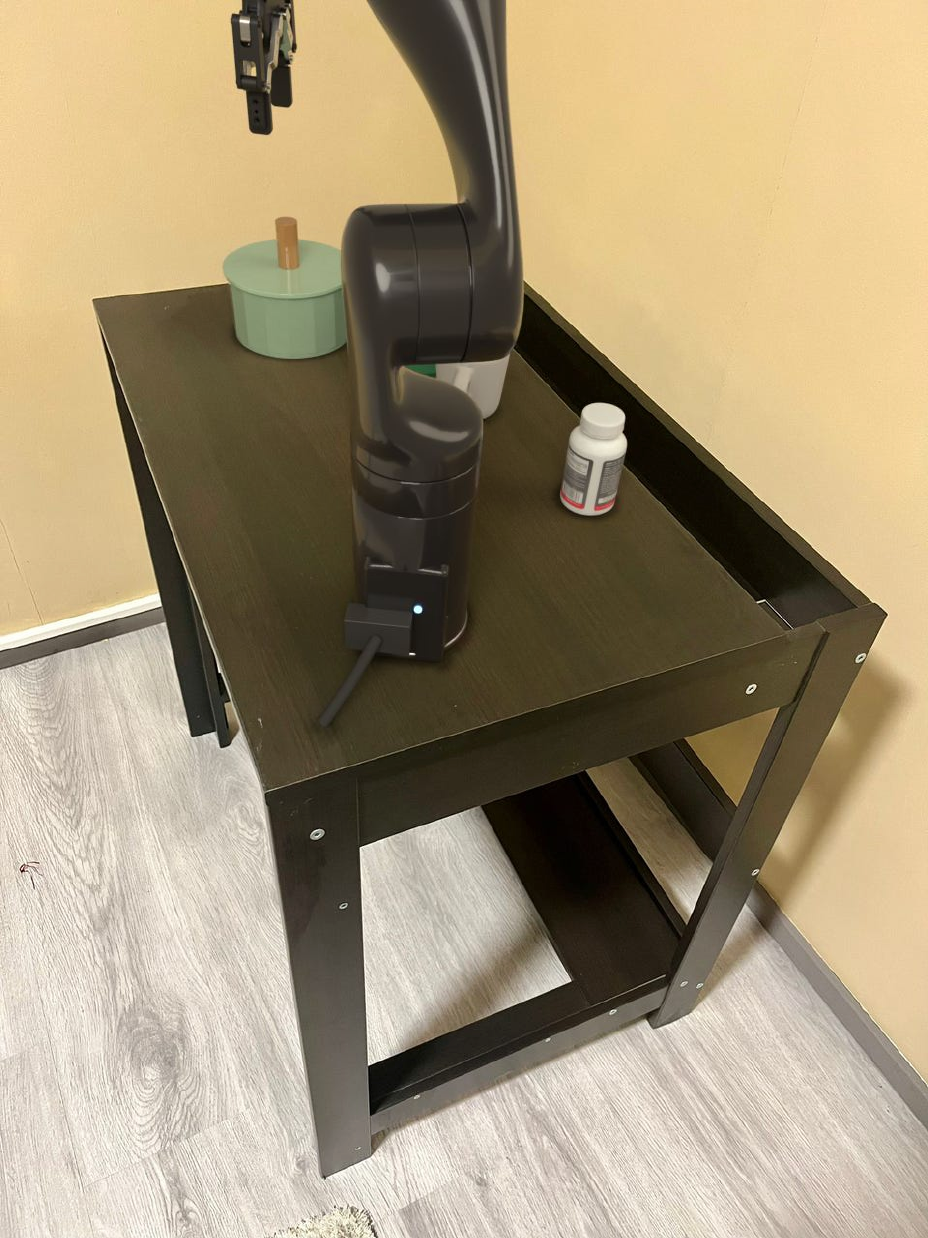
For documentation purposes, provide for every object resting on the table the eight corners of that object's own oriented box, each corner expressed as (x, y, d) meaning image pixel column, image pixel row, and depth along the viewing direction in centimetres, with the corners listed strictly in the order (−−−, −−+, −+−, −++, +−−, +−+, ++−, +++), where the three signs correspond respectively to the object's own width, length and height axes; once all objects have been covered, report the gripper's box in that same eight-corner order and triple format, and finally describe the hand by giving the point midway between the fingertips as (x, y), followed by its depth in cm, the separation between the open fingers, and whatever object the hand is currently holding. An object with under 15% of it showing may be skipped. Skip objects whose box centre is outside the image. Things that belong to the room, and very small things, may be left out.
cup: (492, 449, 94) (499, 380, 88) (417, 436, 95) (420, 367, 89) (509, 396, 101) (517, 330, 96) (440, 385, 102) (443, 318, 97)
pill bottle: (609, 485, 91) (628, 399, 84) (617, 518, 87) (638, 431, 80) (556, 483, 90) (570, 396, 83) (562, 516, 86) (578, 429, 80)
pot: (340, 364, 104) (338, 302, 99) (221, 352, 104) (213, 289, 99) (359, 310, 114) (358, 250, 108) (251, 299, 114) (245, 239, 109)
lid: (342, 310, 99) (340, 254, 94) (207, 296, 99) (200, 240, 95) (364, 254, 109) (363, 202, 105) (242, 242, 109) (236, 189, 105)
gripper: (280, -59, 76) (292, 147, 87) (315, -89, 85) (322, 101, 97) (191, -69, 76) (215, 139, 87) (237, -97, 86) (253, 93, 97)
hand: (272, 118), depth 92 cm, fingers open, 8 cm apart
